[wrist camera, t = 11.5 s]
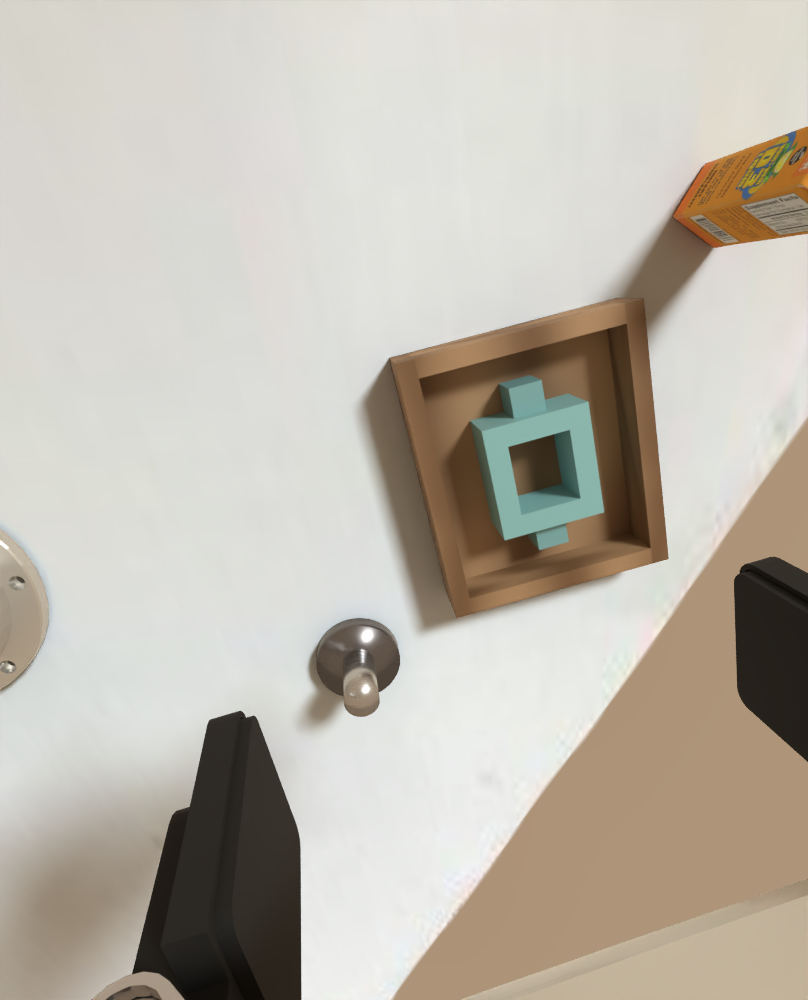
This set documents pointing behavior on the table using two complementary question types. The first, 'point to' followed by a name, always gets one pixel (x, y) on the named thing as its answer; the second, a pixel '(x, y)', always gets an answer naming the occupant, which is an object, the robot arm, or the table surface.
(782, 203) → the supplement box
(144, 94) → the table surface
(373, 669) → the grey metallic peg stand
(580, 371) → the tray
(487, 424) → the teal tabbed square frame
